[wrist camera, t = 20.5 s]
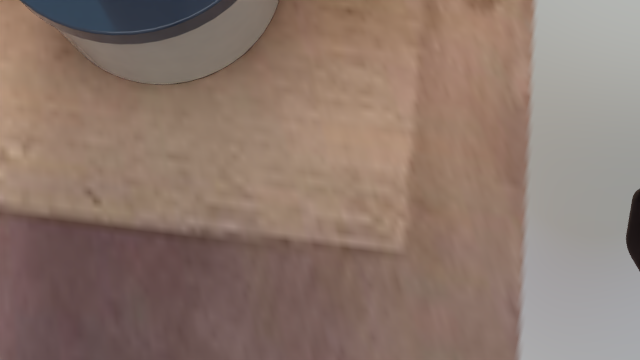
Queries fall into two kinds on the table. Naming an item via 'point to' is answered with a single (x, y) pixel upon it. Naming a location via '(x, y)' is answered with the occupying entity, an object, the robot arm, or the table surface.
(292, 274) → the table surface
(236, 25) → the jar
